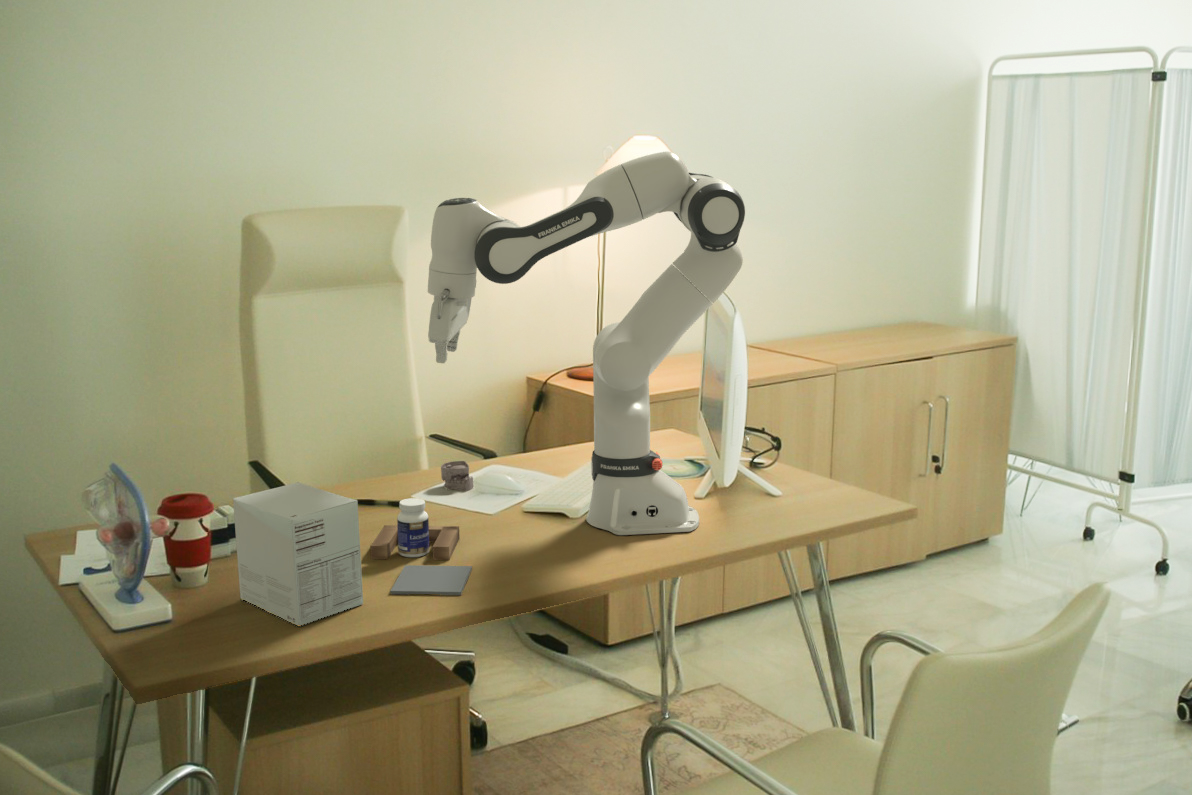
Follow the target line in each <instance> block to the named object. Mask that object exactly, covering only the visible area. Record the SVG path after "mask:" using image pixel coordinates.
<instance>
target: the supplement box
mask: <svg viewBox="0 0 1192 795" xmlns="http://www.w3.org/2000/svg"><path fill="white" fill-rule="evenodd" d="M232 501H233V503H232V504H233V505H232V506H233V516H234V528H235V529H234V530H235V544H236V556H237V571H238V572H237V573H238V582H239V583H238V585H239V596H240V598H241V599H244V600H246V601H248V602H250V603H252V604H254V605H257V606H259V607H260V608H263V609H265V610H266V611H269V612H271V613H273V614H275V615H277V616H279V617H281V618H283V619H285V620H287V621H289V622H292V623H294V624H296V625H302V626H304V625H303V624H305V625H308V624H311V623H313V621H314V622H317V621H319V620H321V618H322V619H324V617H325V618H328V617H330V615H331V616H333V614H334V615H336V614H339V613H342V612H344V610H345V611H348V610H351V609H353V608H356V607H358V606H362V605H363V604H364V595H363V594H364V593H363V592H364V590H363V575H362V574H363V573H362V554H361V539H360V523H359V504H358V502H359V501H358V500H357V499H353V498H350V497H346V496H344V495H343V496H342V495H341V494H337V493H333V492H331V491H327V490H324V489H321V488H319V487H318V488H317V487H314V486H311V485H309V484H305V483H302V482H299V481H298V482H294V483H290V484H285V485H282V486H279V487H274V488H270V489H265V490H262V491H257V492H252V493H250V494H246V495H242V496H238V497H233V499H232ZM248 602H247V603H248ZM250 603H249V604H250ZM252 604H251V605H252ZM254 605H253V606H254ZM260 608H259V609H260ZM350 608H351V609H350ZM347 609H348V610H347ZM266 611H265V612H266ZM338 612H339V613H338ZM277 616H276V617H277ZM327 616H328V617H327ZM279 617H278V618H279ZM281 618H280V619H281ZM283 619H282V620H283ZM318 619H319V620H318ZM285 620H284V621H285ZM287 621H286V622H287ZM289 622H288V623H289ZM310 622H311V623H310ZM307 623H308V624H307Z"/></svg>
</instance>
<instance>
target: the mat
mask: <svg viewBox="0 0 1192 795" xmlns="http://www.w3.org/2000/svg"><path fill="white" fill-rule="evenodd" d="M472 569H473V567H472V565H420V564H419V565H415V564H414V565H413V564H412V565H411V564H409V565H408V564H406V565H404V566H403V568H402V570H401V571H400V574H399V575H398V577H397V579H396V580H395V582H394V583H393V585H392V587H391V589H390V595H410V594H438V595H437V596H462V594H463V592H462V591H464V589H465V587H464V586H466V585H465V584H467V582H468V579H469V577H470V575H471V572H472ZM391 593H392V594H391ZM440 594H441V595H440Z"/></svg>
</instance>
